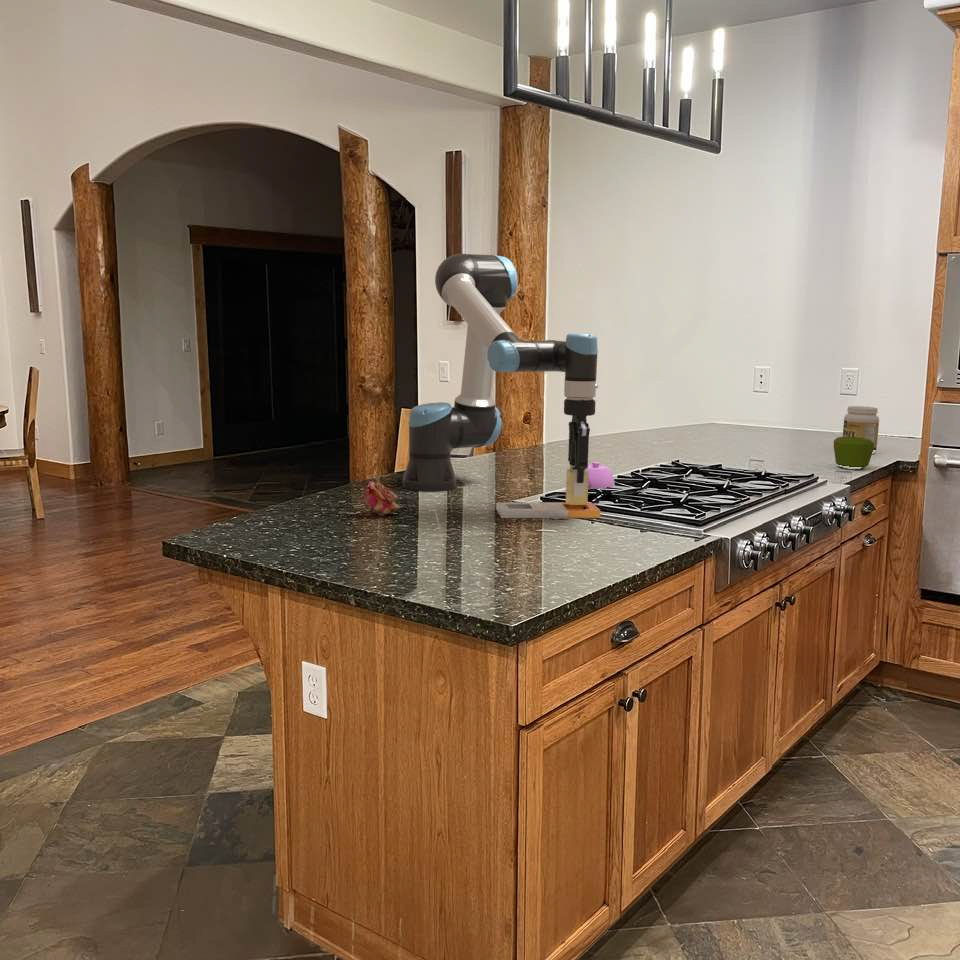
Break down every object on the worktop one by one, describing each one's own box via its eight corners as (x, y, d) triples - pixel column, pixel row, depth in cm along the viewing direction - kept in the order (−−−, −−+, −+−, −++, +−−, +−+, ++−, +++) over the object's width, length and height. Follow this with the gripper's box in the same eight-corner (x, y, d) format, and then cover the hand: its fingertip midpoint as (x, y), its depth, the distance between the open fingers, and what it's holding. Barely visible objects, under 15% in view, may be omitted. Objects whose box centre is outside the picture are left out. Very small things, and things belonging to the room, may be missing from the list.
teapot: (620, 494, 269) (622, 460, 268) (601, 503, 256) (602, 467, 255) (585, 490, 274) (587, 457, 273) (564, 498, 261) (566, 464, 259)
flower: (357, 512, 230) (377, 485, 229) (351, 497, 238) (371, 471, 237) (389, 532, 234) (409, 506, 233) (383, 516, 242) (402, 491, 241)
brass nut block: (569, 504, 236) (570, 472, 234) (565, 501, 240) (566, 469, 239) (587, 504, 236) (588, 472, 235) (583, 501, 240) (584, 469, 239)
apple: (879, 470, 320) (882, 436, 318) (850, 472, 316) (853, 437, 314) (852, 464, 332) (855, 431, 330) (823, 466, 327) (826, 433, 325)
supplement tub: (834, 451, 366) (837, 405, 363) (861, 450, 370) (865, 405, 367) (855, 455, 355) (859, 409, 352) (883, 454, 358) (887, 408, 355)
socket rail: (501, 520, 232) (501, 510, 231) (496, 511, 242) (496, 502, 241) (600, 520, 234) (600, 510, 234) (591, 511, 244) (591, 502, 244)
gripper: (603, 401, 226) (599, 500, 229) (587, 395, 243) (584, 487, 247) (571, 401, 225) (568, 500, 229) (558, 395, 242) (555, 487, 246)
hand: (576, 493), depth 238 cm, fingers closed on brass nut block, 4 cm apart
